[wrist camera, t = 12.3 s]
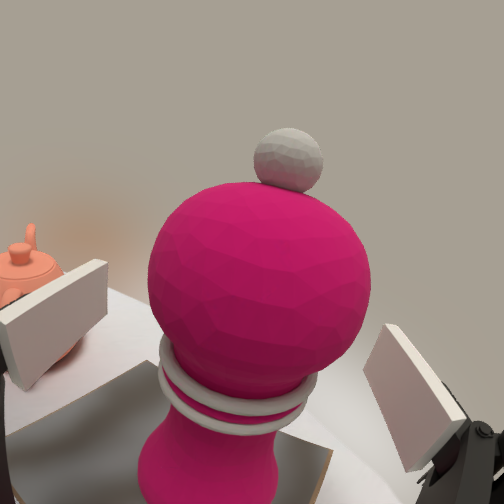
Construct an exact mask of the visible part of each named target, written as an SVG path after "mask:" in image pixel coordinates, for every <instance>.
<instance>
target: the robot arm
mask: <svg viewBox="0 0 504 504" xmlns="http://www.w3.org/2000/svg"><path fill="white" fill-rule="evenodd" d="M107 281H108V262H105V261H102V260H98V259H94V260H92V261H90V262H88V263H86V264H84V265H82V266H80V267H78V268H76V269H74V270H72V271H70V272H68V273H66V274H64V275H63V276H61V277H59V278H57V279H55V280H53V281H51V282H50V283H48V284H46V285H44V286H42V287H40V288H39V289H37V290H35V291H33V292H31V293H27V294H24V295H22V296H21V297H19V298H17V299H16V300H14V301H12V302H10V303H9V304H7V305H5V306H3V307H2V308H0V504H15V500H14V495H13V491H12V486H11V480H10V475H9V468H8V461H7V453H6V442H5V426H4V391H5V379H4V376H3V373H4V372H5V371H7V370H8V372H9V375H10V377H11V380H12V382H13V383H14V384H16V385H17V386H18V387H20V388H21V389H23V390H24V391H25V392H26V391H27V390H28V389H29V388H30V387H31V386H32V385H33V384H34V383H35V382H36V381H37V380H38V379H39V378H40V377H41V376H42V375H43V374H44V373H45V372H46V371H47V370H48V369H49V368H50V367H51V366H52V365H53V364H54V363H55V362H56V361H57V360H58V359H59V358H60V357H61V356H62V355H63V354H64V353H65V352H66V351H68V350H69V349H70V348H71V347H72V346H73V345H74V344H75V343H76V342H77V341H78V340H79V339H80V338H81V337H82V336H84V335H85V334H86V333H87V332H88V331H89V330H90V329H91V328H92V327H93V326H94V325H96V324H97V323H98V322H99V321H100V320H101V319H102V318H103V317H104V316H106V315H107ZM363 371H364V373H365V376H366V378H367V380H368V382H369V384H370V387H371V389H372V391H373V394H374V396H375V398H376V400H377V403H378V405H379V407H380V410H381V412H382V414H383V417H384V419H385V421H386V424H387V426H388V429H389V431H390V434H391V436H392V439H393V441H394V443H395V446H396V449H397V451H398V454H399V456H400V459H401V461H402V464H403V466H404V469H405V472H406V473H408V472H412V471H417V470H421V469H423V467H424V466H426V465H427V464H428V463H429V462H430V460H432V462H433V464H434V466H433V467H432V468H431V469H430V470H429V471H428V472H426V473H425V474H424V475H423V476H422V477H421V478H420V479H419V480H418V482H417V484H419V483H420V482H421V481H422V480H424V479H425V482H424V483H423V484H422V486H423V487H422V490H421V492H420V495H419V497H418V499H417V502H416V504H504V473H503V474H502V475H501V476H500V477H499V478H498V479H497V480H495V481H494V479H493V476H494V475H495V474H496V473H497V472H498V471H499V470H500V469H501V468H502V467H503V466H504V430H503V431H502V433H501V434H499V433H498V434H497V433H494V431H493V430H492V428H491V427H490V426H489V425H488V424H486V423H484V422H482V421H474V422H472V421H471V420H470V418H469V417H468V415H467V414H466V413H465V411H464V409H463V408H462V407H461V405H460V404H459V402H457V401H456V398H455V397H454V395H452V393H451V391H450V390H449V389H448V387H447V386H446V385H445V384H444V383H443V382H442V381H440V380H439V378H438V377H437V376H436V374H435V373H434V372H433V370H432V369H431V368H430V366H429V365H428V364H427V362H426V361H425V360H424V359H423V357H422V356H421V355H420V353H419V352H418V351H417V349H416V348H415V347H414V346H413V345H412V343H411V342H410V341H409V339H408V338H407V337H406V336H405V334H404V333H403V332H402V331H401V330H400V328H399V327H398V326H397V325H392V324H385V323H384V325H383V327H382V330H381V332H380V334H379V337H378V339H377V341H376V343H375V346H374V348H373V350H372V352H371V355H370V356H369V358H368V360H367V363H366V364H365V367H364V369H363Z"/></svg>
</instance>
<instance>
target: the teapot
mask: <svg viewBox="0 0 504 504" xmlns="http://www.w3.org/2000/svg"><path fill="white" fill-rule="evenodd" d="M63 275H64V273H63V272H62V270H61V268H60V267H59V266H58V264H57V263H56V261H55V260H54V259H53V258H52V257H51V256H50V255H48V254H46V253H43V252H40V251H37V247H36V241H35V225H34V224H33V223H30V224H29V225H28V226H27V229H26V235H25V242H24V243H15V244H12V245H10V246H9V247H8V252H4V253H1V254H0V308H2V307H3V306H5V305H7V304H9V303H10V302H12V301H14V300H16V299H17V298H19V297H21V296H22V295H24V294H27V293H31V292H33V291H35V290H37V289H39V288H40V287H42V286H44V285H46V284H48V283H50V282H51V281H53V280H55V279H57V278H59V277H61V276H63ZM76 343H77V342H76ZM76 343H75V344H76ZM75 344H74V345H73V346H72V347H71V348H70V349H69V350H68V351H66V352H65V353H64V354H63V355H62V356H61V357H60V358H59V359H58V360H57V361H59V360H60V359H62V358H63V357H64V356H65V355H66V354H67V353H69V351H70V350H71V349H72V348H73V347H74V346H75ZM57 361H56V362H57ZM56 362H55V363H56Z"/></svg>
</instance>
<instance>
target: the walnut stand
mask: <svg viewBox="0 0 504 504" xmlns="http://www.w3.org/2000/svg"><path fill="white" fill-rule="evenodd" d="M170 405H171V403H170V402H169V400H168V399H167V397H166V396H165V394H164V393H163V391H162V389H161V386H160V382H159V378H158V367H157V366H155V365H154V364H152V363H151V362H149V361H148V360H145V361H144V362H142V363H140V364H139V365H137V366H135V367H133V368H132V369H130V370H128V371H127V372H125V373H123V374H121V375H120V376H118V377H116V378H114V379H113V380H111V381H109V382H107V383H106V384H104V385H102V386H100V387H99V388H97V389H95V390H93V391H91V392H90V393H88V394H86V395H84V396H82V397H81V398H79V399H77V400H75V401H73V402H71V403H70V404H68V405H66V406H64V407H62V408H60V409H58V410H56V411H55V412H53V413H51V414H49V415H47V416H45V417H43V418H41V419H39V420H37V421H35V422H33V423H31V424H29V425H27V426H25V427H23V428H21V429H19V430H17V431H15V432H13V433H11V434H9V435H7V436H5V442H6V453H7V461H8V468H9V475H10V480H11V486H12V491H13V495H14V496H15V497H16V499H17V500H18V501H19V503H20V504H148V503H147V502H146V500H145V499H144V497H143V495H142V493H141V490H140V487H139V484H138V476H137V472H138V458H139V456H140V453H141V450H142V448H143V446H144V444H145V442H146V440H147V438H148V437H149V436H150V434H151V433H152V432H153V431H154V430H155V429H156V428H157V427H158V426H159V425H160V424H161V423H162V422H163V421H164V420H165V418H166V416H167V414H168V412H169V410H170ZM273 451H274V455H275V459H276V462H277V466H278V486H277V490H276V494H275V497H274V499H273V500H272V502H271V504H314V503H315V501H316V498H317V496H318V493H319V491H320V488H321V485H322V483H323V480H324V477H325V474H326V472H327V469H328V466H329V463H330V460H331V457H332V454H333V450H331V449H328V448H325V447H322V446H319V445H316V444H313V443H310V442H307V441H304V440H302V439H299V438H296V437H294V436H291V435H289V434H286V433H284V432H281V431H279V430H277V433H276V436H275V439H274V448H273Z"/></svg>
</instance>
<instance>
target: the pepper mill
mask: <svg viewBox="0 0 504 504" xmlns="http://www.w3.org/2000/svg"><path fill="white" fill-rule="evenodd" d="M322 168H323V158H322V154H321V151H320V148H319V146H318V144H317V143H316V141H315V140H314V139H313V138H311V136H310V135H308V134H307V133H305V132H303V131H300V130H297V129H295V128H283V129H279V130H275V131H272V132H270V133H269V134H267V135H266V136H265V137H264V138H263V139H262V140H261V141H260V142H259V144H258V146H257V148H256V151H255V154H254V169H255V172H256V174H257V177H258V178H259V180H260V181H261V183H255V182H241V183H227V184H222V185H218V186H215V187H211V188H208V189H204V190H202V191H201V192H199V193H197V194H195V195H194V196H192V197H190V198H189V199H187V200H185V201H184V202H183V203H182V204H181V205H180V206H179V207H178V208H177V209H176V210H175V211H174V212H173V213H172V214H171V215H170V216H169V217H168V218H167V220H166V222H165V223H164V225H163V227H162V228H161V230H160V232H159V234H158V236H157V238H156V241H155V244H154V247H153V250H152V253H151V256H150V261H149V266H148V292H149V300H150V306H151V309H152V312H153V315H154V317H155V318H156V320H157V322H158V323H159V325H160V327H161V329H162V330H163V332H164V334H163V336H162V339H161V341H160V346H159V356H160V362H159V365H158V378H159V382H160V386H161V389H162V391H163V393H164V394H165V396H166V397H167V399H168V400H169V402H170V403H171V405H170V410H169V412H168V414H167V416H166V418H165V420H164V421H163V422H162V423H161V424H160V425H159V426H158V427H157V428H156V429H155V430H154V431H153V432H152V433H151V434H150V436H149V437H148V438H147V440H146V442H145V444H144V446H143V448H142V450H141V453H140V456H139V458H138V472H137V476H138V484H139V487H140V490H141V493H142V495H143V497H144V499H145V500H146V502H147V503H148V504H271V502H272V500H273V499H274V497H275V494H276V490H277V486H278V466H277V462H276V459H275V455H274V451H273V448H274V439H275V436H276V433H277V430H279V429H281V428H283V427H285V426H287V425H289V424H290V423H291V422H292V421H294V420H295V419H296V418H297V417H298V416H299V415H300V414H301V412H302V411H303V409H304V407H305V405H306V403H307V399H308V396H309V395H310V394H311V392H312V391H313V389H314V387H315V385H316V382H317V374H318V371H320V370H323V369H324V368H326V367H327V366H329V365H330V364H331V363H333V362H334V361H335V360H336V359H338V358H339V357H341V356H342V355H343V354H344V353H345V352H346V351H347V349H348V348H349V347H350V346H351V345H352V343H353V341H354V340H355V338H356V336H357V334H358V333H359V331H360V329H361V327H362V323H363V320H364V317H365V314H366V310H367V307H368V303H369V297H370V290H371V279H370V268H369V263H368V258H367V254H366V251H365V249H364V246H363V244H362V243H361V241H360V239H359V238H358V236H357V235H356V233H355V232H354V230H353V228H352V227H351V225H350V224H349V223H348V222H347V221H346V220H345V219H344V218H342V217H341V216H340V215H339V214H338V213H337V212H336V211H334V210H333V209H332V208H330V207H329V206H327V205H325V204H324V203H322V202H320V201H319V200H317V199H315V198H313V197H311V196H309V195H306V194H303V192H305V191H307V190H309V189H310V188H312V187H313V185H314V184H315V183H316V182H317V180H318V179H319V178H320V175H321V171H322Z"/></svg>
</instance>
